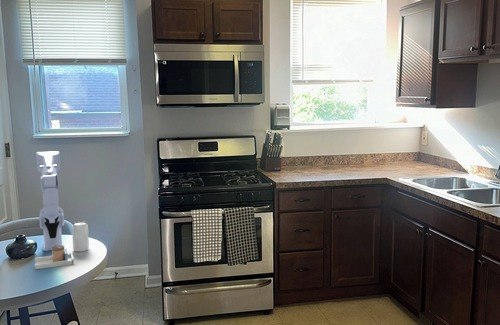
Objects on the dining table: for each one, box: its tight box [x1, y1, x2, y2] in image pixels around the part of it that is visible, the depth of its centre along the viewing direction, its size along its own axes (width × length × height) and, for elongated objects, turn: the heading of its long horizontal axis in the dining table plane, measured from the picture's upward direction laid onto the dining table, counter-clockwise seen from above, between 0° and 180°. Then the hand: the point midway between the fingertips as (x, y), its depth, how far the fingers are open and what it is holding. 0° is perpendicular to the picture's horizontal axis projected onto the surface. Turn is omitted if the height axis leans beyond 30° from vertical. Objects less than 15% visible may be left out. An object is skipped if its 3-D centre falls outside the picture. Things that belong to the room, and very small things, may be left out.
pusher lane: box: [34, 251, 74, 270], centre depth 176 cm, size 9×14×2 cm, turn 115°
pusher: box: [64, 248, 69, 260], centre depth 178 cm, size 6×1×4 cm, turn 25°
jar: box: [51, 245, 65, 262], centre depth 177 cm, size 4×4×6 cm
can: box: [71, 221, 90, 253], centre depth 191 cm, size 6×6×12 cm
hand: (52, 235), depth 181 cm, fingers open, 7 cm apart
